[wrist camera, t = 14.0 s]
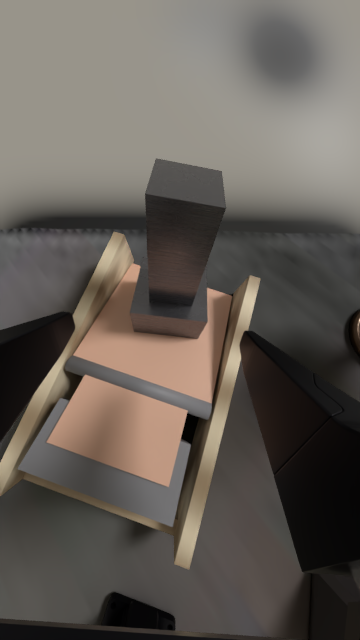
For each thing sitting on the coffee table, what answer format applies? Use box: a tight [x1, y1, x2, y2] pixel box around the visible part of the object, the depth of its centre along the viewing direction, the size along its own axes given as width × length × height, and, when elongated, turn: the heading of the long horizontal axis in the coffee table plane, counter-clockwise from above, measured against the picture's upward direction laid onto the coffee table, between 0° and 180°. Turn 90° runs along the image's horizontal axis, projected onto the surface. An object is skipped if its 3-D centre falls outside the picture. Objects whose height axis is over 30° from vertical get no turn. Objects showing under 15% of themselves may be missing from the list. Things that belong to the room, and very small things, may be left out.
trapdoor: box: [17, 263, 232, 527], centre depth 19 cm, size 22×14×4 cm, turn 162°
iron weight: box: [130, 159, 226, 339], centre depth 15 cm, size 7×7×13 cm
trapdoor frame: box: [0, 232, 260, 569], centre depth 19 cm, size 26×17×5 cm, turn 162°
